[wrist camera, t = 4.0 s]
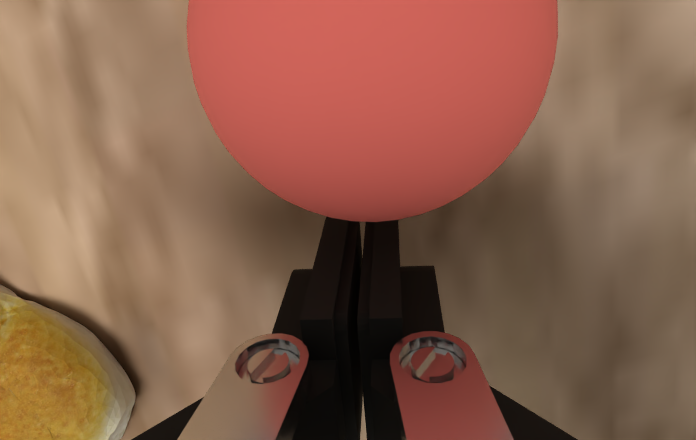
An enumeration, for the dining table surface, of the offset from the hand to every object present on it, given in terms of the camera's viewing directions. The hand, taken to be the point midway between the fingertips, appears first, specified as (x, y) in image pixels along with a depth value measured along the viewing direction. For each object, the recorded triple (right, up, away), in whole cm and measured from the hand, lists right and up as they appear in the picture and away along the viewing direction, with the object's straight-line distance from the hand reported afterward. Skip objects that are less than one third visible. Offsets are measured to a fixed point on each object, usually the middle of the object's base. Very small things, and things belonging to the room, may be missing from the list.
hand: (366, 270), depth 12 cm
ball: (0, +4, -3) cm, 5 cm away
